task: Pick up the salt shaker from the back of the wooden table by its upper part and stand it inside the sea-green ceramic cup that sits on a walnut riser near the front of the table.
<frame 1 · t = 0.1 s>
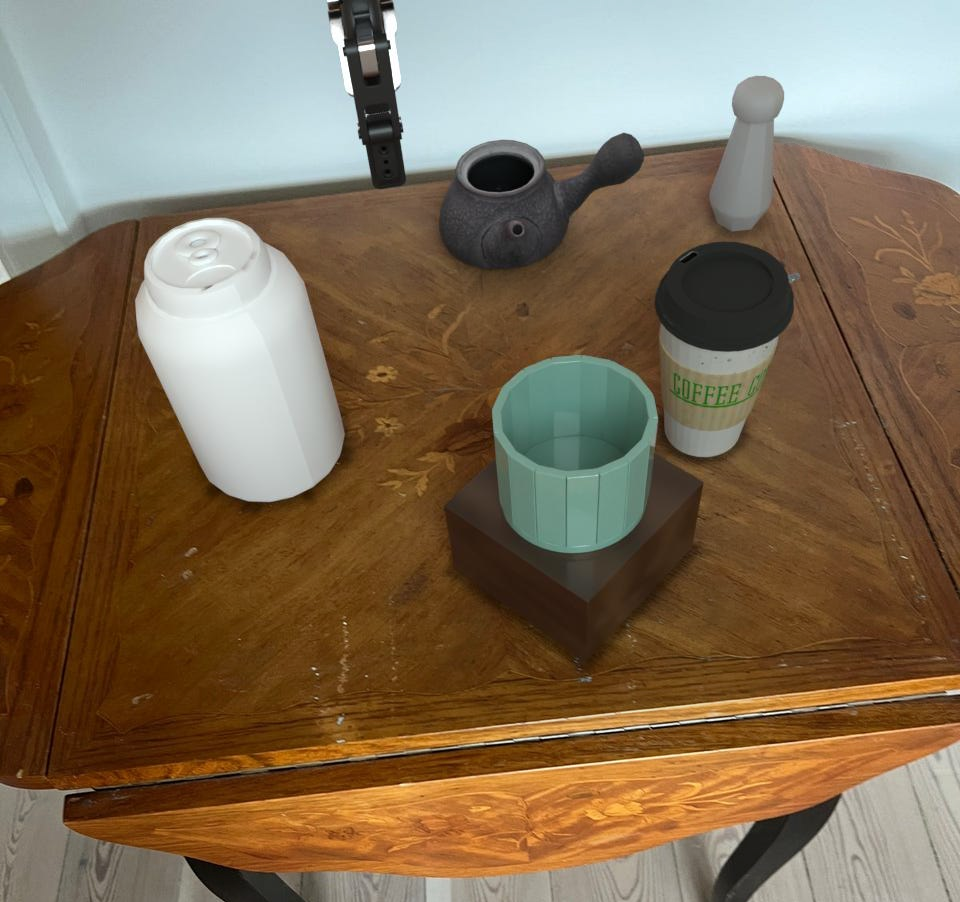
hand: (383, 146, 68), 23 cm above the table, tool pointing down, fingers open, 8 cm apart
walnut riser: (572, 559, 77), on the table
teapot: (539, 244, 97), on the table
salt shaker: (736, 219, 96), on the table
coffee cup: (701, 430, 83), on the table
can: (274, 450, 85), on the table
green cup: (573, 493, 70), resting on walnut riser
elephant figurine: (747, 340, 88), on the table
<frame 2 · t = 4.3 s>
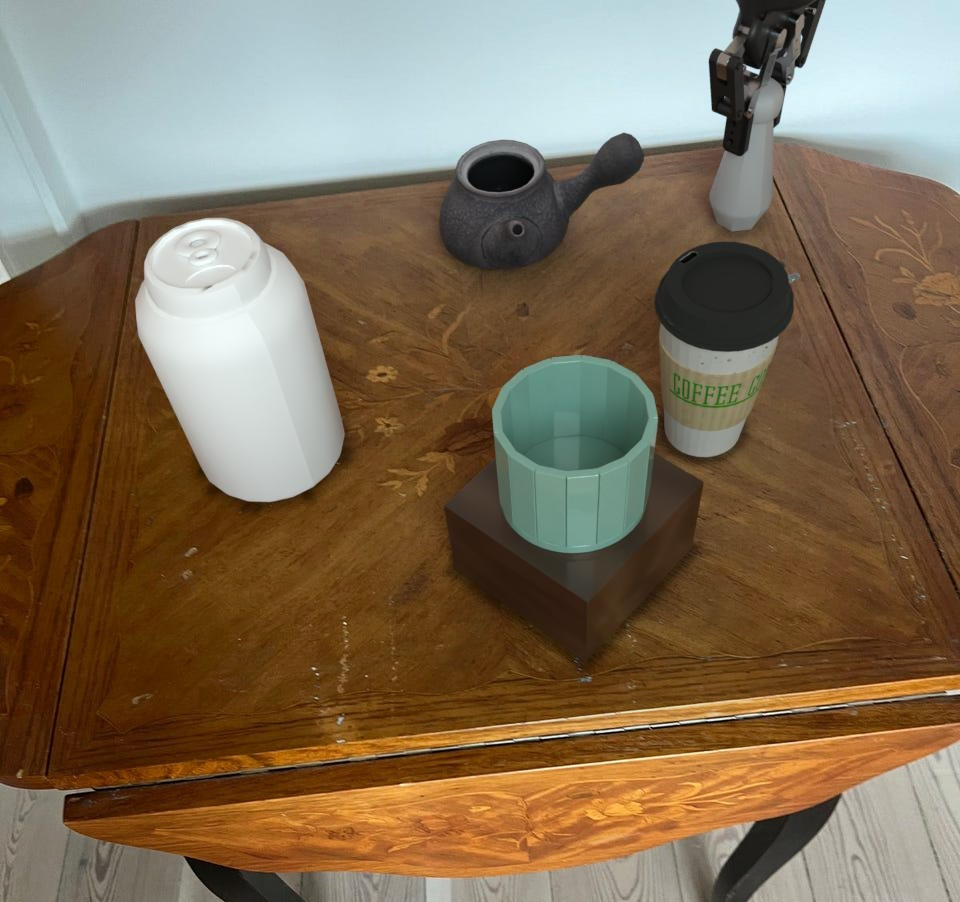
hand: (750, 136, 89), 8 cm above the table, tool pointing down, fingers closed on salt shaker, 4 cm apart
salt shaker: (736, 219, 96), on the table, touching gripper
everything else where it was.
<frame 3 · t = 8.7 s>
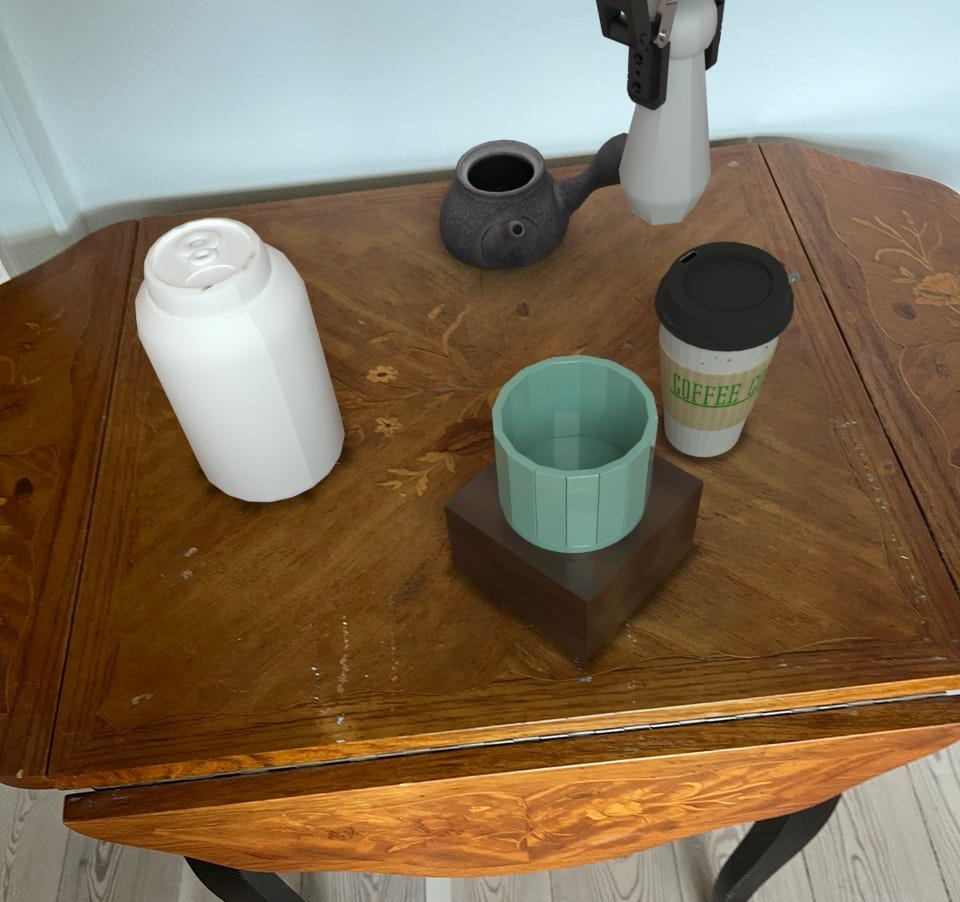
hand: (673, 82, 59), 29 cm above the table, tool pointing down, fingers closed on salt shaker, 4 cm apart
salt shaker: (661, 208, 66), point 20 cm above the table, touching gripper
everything else where it was.
when the fingers open (17 cm above the table, at t = 13.0 s): salt shaker stays where it is, resting on green cup.
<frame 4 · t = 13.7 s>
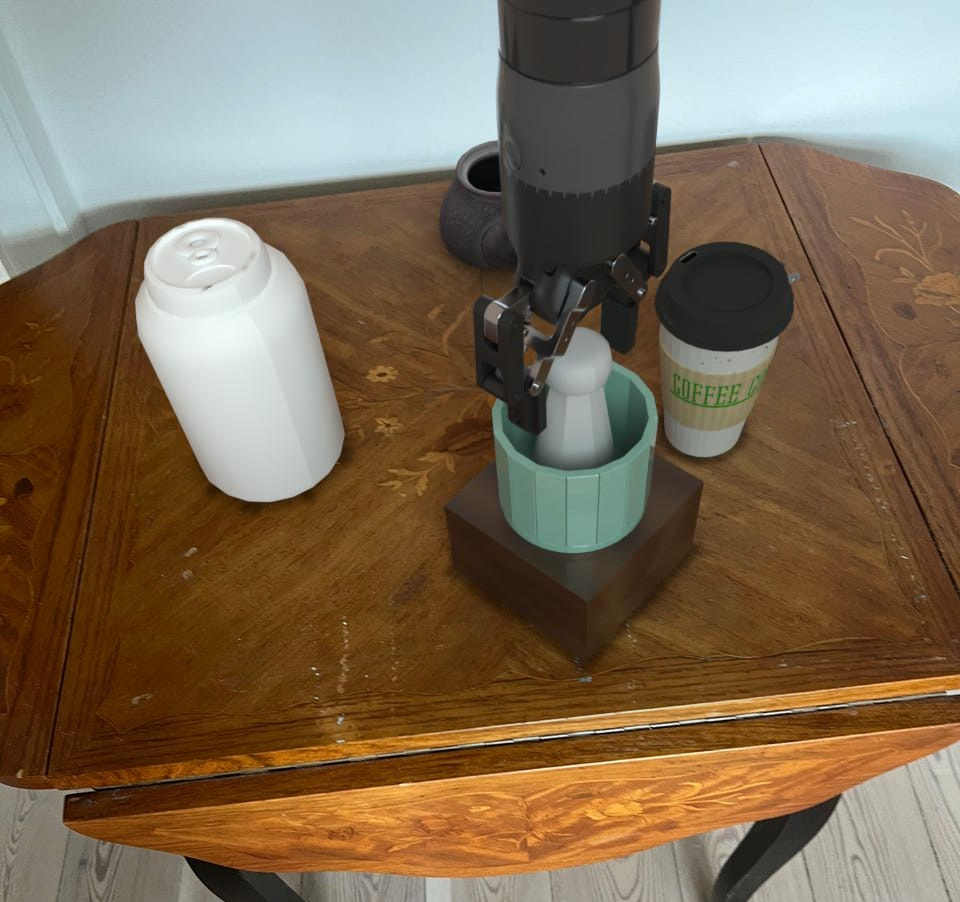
hand: (574, 385, 61), 18 cm above the table, tool pointing down, fingers open, 8 cm apart
salt shaker: (573, 488, 70), point 9 cm above the table, touching green cup
everything else where it was.
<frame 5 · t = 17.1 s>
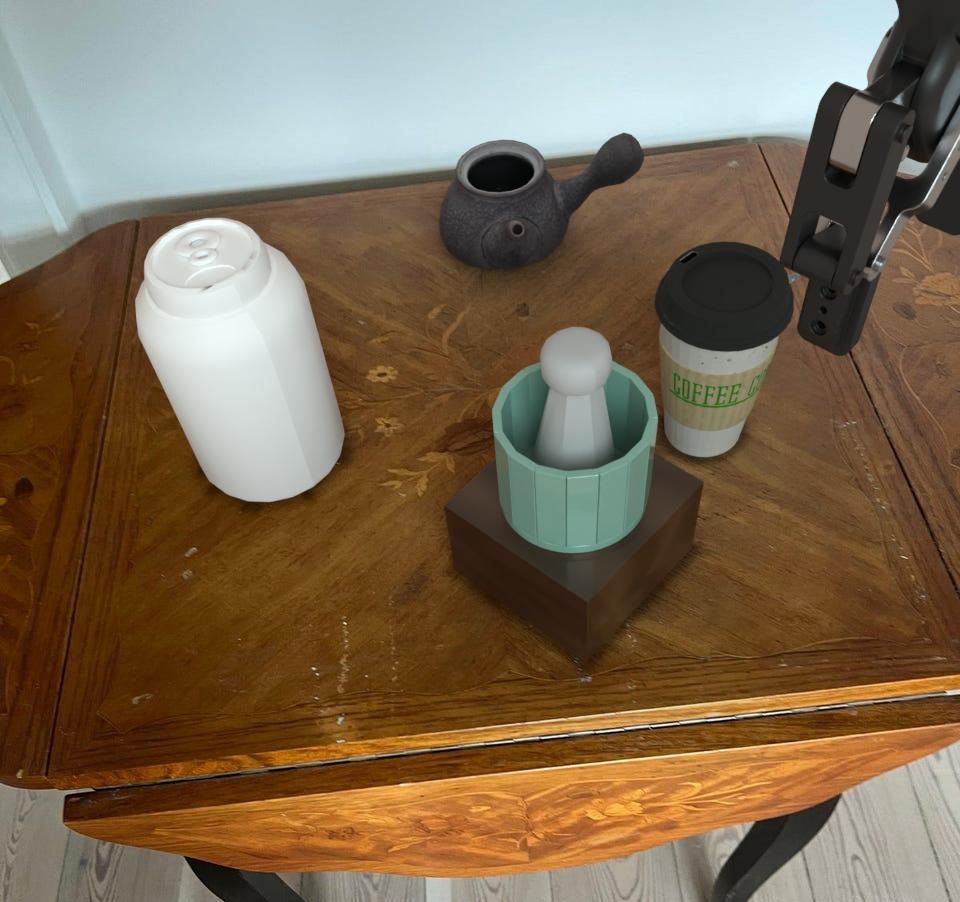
hand: (885, 280, 39), 36 cm above the table, tool pointing down, fingers open, 8 cm apart
nothing on the table moved.
at the end: salt shaker 0.0 cm off-centre on the green cup, point 0.6 cm above the green cup's base; salt shaker tilted 0° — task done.
